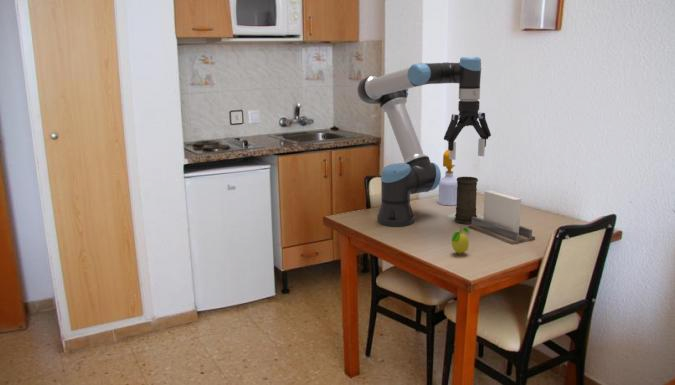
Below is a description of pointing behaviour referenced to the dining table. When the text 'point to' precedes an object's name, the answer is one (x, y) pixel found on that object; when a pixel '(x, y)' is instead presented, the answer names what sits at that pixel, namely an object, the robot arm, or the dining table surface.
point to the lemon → (460, 241)
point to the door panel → (502, 210)
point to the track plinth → (502, 231)
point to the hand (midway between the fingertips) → (466, 157)
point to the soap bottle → (448, 184)
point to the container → (466, 200)
